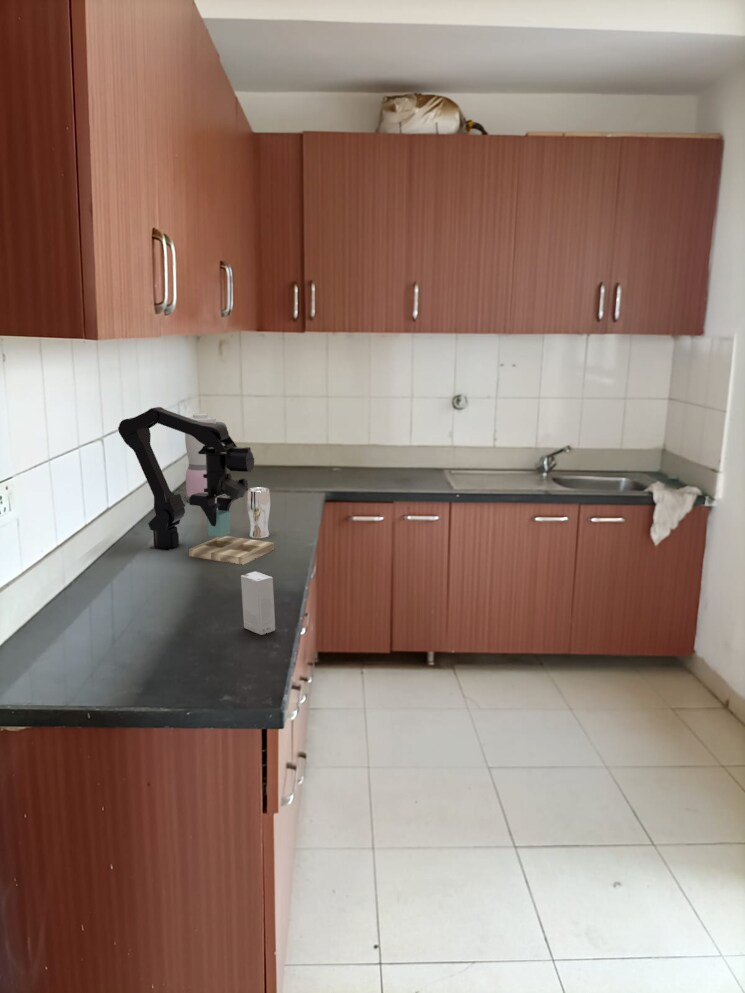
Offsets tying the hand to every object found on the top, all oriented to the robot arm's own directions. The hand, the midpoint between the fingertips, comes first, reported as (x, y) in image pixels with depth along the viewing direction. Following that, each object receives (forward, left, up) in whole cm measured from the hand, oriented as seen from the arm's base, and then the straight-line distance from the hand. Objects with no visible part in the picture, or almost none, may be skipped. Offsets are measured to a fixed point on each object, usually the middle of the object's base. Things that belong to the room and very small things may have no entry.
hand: (218, 524), depth 214 cm
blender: (-43, +53, -9) cm, 69 cm away
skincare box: (+40, -43, -9) cm, 60 cm away
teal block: (0, 0, -3) cm, 3 cm away
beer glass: (+1, +19, -9) cm, 21 cm away
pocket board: (+4, 0, -8) cm, 9 cm away
